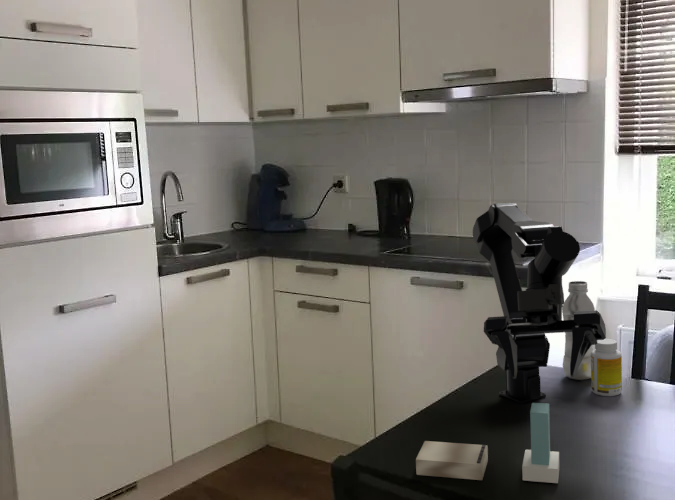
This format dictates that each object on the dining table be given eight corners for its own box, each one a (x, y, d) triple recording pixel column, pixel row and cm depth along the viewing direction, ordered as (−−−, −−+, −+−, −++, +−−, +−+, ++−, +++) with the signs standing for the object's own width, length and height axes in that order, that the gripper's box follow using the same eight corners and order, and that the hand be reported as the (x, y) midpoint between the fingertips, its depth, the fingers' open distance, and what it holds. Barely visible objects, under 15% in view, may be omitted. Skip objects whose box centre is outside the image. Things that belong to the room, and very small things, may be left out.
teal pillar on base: (522, 480, 110) (520, 414, 108) (525, 462, 116) (524, 399, 114) (557, 483, 108) (556, 416, 107) (559, 465, 114) (558, 401, 112)
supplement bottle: (628, 394, 142) (628, 342, 141) (604, 399, 141) (604, 346, 139) (608, 385, 148) (607, 335, 146) (585, 390, 146) (584, 339, 144)
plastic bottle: (595, 373, 155) (594, 279, 152) (595, 384, 149) (594, 286, 146) (563, 372, 157) (561, 279, 154) (562, 382, 151) (560, 286, 148)
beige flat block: (416, 474, 115) (415, 458, 114) (425, 455, 121) (424, 439, 121) (482, 480, 111) (481, 463, 111) (487, 460, 118) (487, 444, 118)
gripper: (476, 272, 124) (470, 359, 117) (592, 261, 116) (594, 354, 108) (495, 302, 133) (491, 385, 125) (605, 294, 124) (607, 382, 116)
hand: (542, 377), depth 118 cm, fingers open, 9 cm apart
